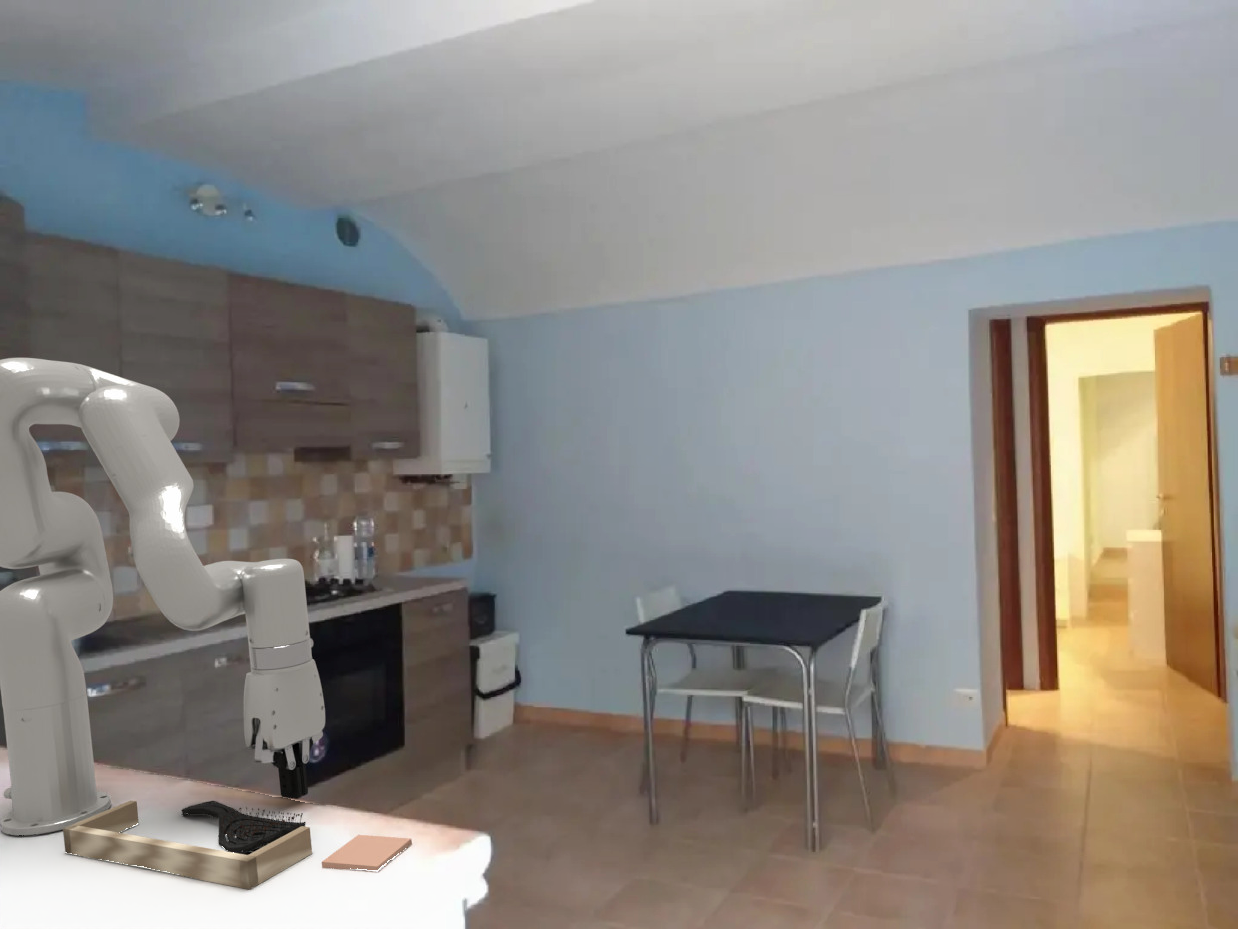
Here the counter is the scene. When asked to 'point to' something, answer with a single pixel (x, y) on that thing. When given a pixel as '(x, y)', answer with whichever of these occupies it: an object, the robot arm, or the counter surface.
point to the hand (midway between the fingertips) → (294, 795)
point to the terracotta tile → (366, 852)
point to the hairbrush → (243, 826)
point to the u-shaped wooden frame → (181, 850)
